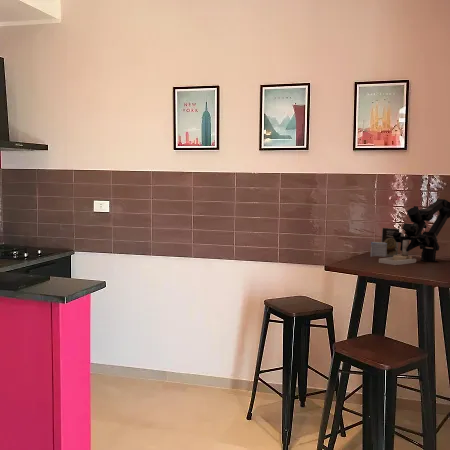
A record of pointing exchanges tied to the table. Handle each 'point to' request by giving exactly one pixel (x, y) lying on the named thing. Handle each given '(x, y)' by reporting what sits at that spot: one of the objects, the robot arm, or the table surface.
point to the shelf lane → (399, 262)
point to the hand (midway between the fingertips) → (403, 250)
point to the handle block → (403, 252)
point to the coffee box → (390, 241)
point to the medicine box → (378, 249)
